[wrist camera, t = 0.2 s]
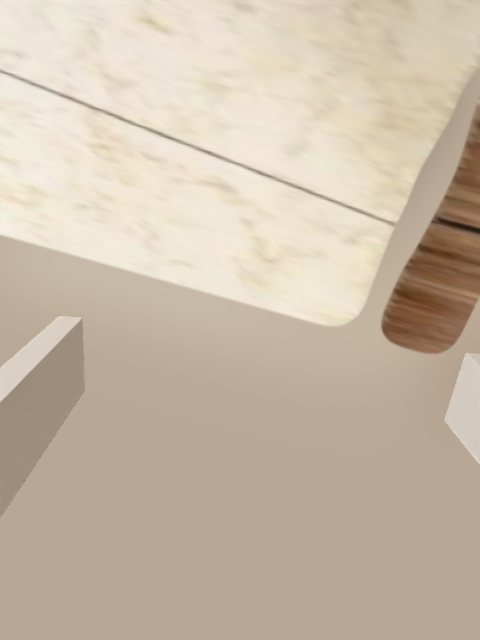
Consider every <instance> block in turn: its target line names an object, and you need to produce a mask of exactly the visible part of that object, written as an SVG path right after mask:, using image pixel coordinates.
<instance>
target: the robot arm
mask: <svg viewBox="0 0 480 640" xmlns="http://www.w3.org/2000/svg"><path fill="white" fill-rule="evenodd" d="M84 390H85V386H84V354H83V322H82V318H75V317H64V316H59V317H57V318H56V319H55V320H54V321H53V322H52V323H51V324H50V325H48V326H47V327H46V328H45V329H44V330H43V331H42V332H40V333H39V334H38V335H37V336H36V337H35V338H33V339H32V340H31V341H30V342H29V343H28V344H27V345H25V346H24V347H23V348H22V349H21V350H20V351H19V352H18V353H16V354H15V355H14V356H13V357H12V358H11V359H10V360H9V361H7V362H6V363H5V364H4V365H3V366H2V367H0V518H1V517H2V515H3V513H4V512H5V510H6V509H7V507H8V506H9V504H10V503H11V501H12V500H13V498H14V497H15V495H16V494H17V492H18V491H19V489H20V488H21V486H22V485H23V483H24V482H25V480H26V479H27V477H28V476H29V474H30V473H31V471H32V470H33V468H34V467H35V465H36V463H37V462H38V460H39V459H40V457H41V456H42V454H43V453H44V451H45V450H46V448H47V447H48V445H49V444H50V442H51V441H52V439H53V438H54V436H55V435H56V433H57V432H58V430H59V428H60V427H61V425H62V424H63V423H64V421H65V420H66V418H67V416H68V415H69V413H70V412H71V410H72V409H73V407H74V406H75V404H76V403H77V401H78V400H79V398H80V397H81V395H82V394H83V392H84ZM445 422H446V423H447V424H448V426H449V427H450V428H451V429H452V431H453V432H454V433H455V434H456V436H457V437H458V438H459V439H460V441H461V442H462V443H463V445H464V446H465V447H466V448H467V449H468V451H469V452H470V453H471V455H472V456H473V457H474V458H475V459H476V461H477V462H478V463H479V465H480V354H472V353H466V354H465V357H464V360H463V363H462V367H461V370H460V373H459V376H458V379H457V382H456V386H455V389H454V392H453V395H452V398H451V401H450V404H449V408H448V411H447V414H446V417H445Z"/></svg>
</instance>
